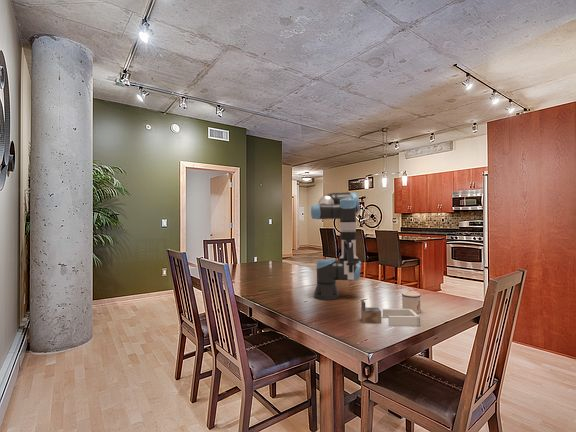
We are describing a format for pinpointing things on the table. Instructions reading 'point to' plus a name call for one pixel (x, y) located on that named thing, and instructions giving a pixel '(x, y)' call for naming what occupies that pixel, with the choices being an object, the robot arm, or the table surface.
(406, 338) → the table surface
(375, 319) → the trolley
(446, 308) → the table surface
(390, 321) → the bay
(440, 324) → the table surface
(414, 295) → the teacup with lid
